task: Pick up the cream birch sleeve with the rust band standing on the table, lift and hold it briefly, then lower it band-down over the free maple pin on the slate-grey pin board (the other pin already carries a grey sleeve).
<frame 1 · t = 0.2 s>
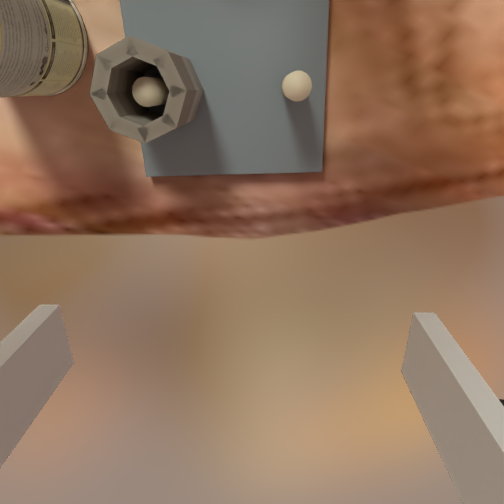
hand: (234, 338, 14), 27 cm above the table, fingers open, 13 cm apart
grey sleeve: (164, 91, 35), point 1 cm above the table, touching pin board
pin board: (229, 88, 36), on the table
coffee can: (35, 37, 35), on the table
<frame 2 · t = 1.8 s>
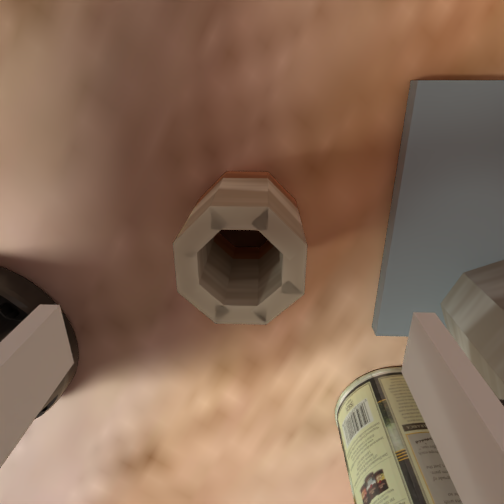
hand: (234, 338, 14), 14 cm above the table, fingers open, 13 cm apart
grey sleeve: (491, 304, 27), point 1 cm above the table, touching pin board
cream sleeve: (247, 219, 27), on the table
coffee can: (391, 408, 34), on the table
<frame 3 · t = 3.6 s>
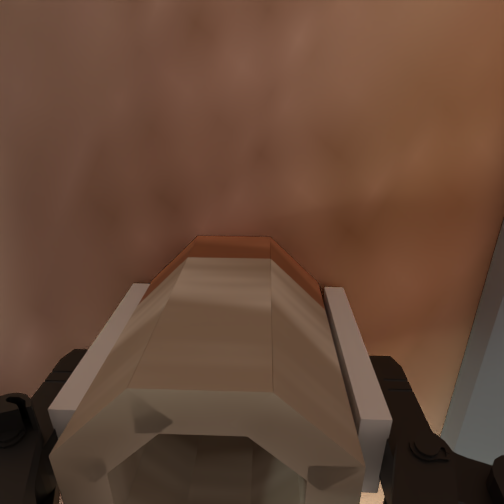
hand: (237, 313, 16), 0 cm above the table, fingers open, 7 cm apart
cream sleeve: (235, 310, 16), on the table, touching gripper
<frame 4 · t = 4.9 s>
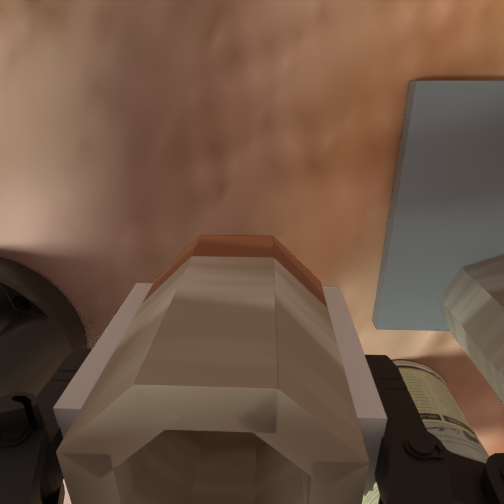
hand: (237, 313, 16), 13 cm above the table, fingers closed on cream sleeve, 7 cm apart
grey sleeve: (488, 298, 28), point 1 cm above the table, touching pin board
pin board: (501, 218, 27), on the table
cream sleeve: (238, 309, 16), point 13 cm above the table, touching gripper
coffee can: (391, 401, 35), on the table
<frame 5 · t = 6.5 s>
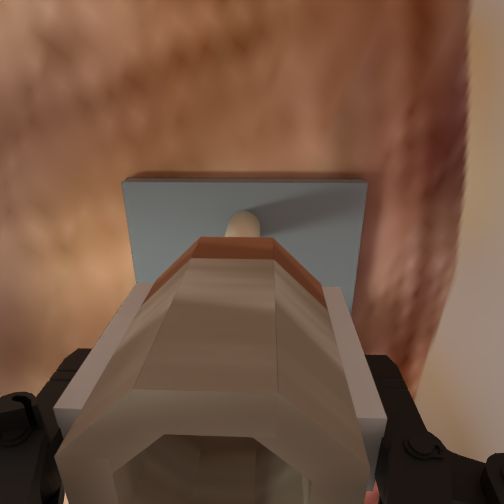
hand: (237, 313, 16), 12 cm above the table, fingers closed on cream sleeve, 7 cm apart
pin board: (245, 293, 29), on the table
cream sleeve: (238, 311, 16), point 12 cm above the table, touching gripper
when the fingers open (3 cm above the table, at t = 8.7 s): cream sleeve drops 1 cm, resting on pin board.
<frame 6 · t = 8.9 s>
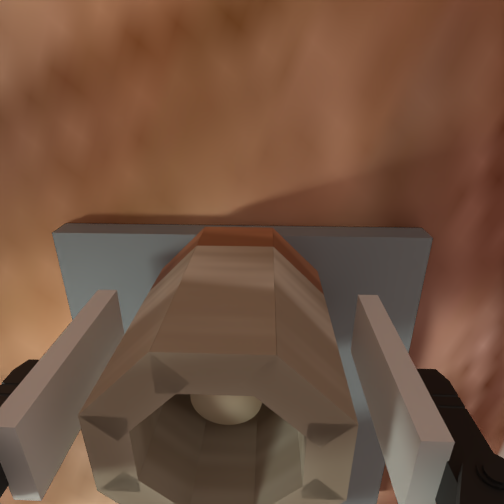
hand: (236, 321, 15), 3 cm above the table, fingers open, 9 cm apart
pin board: (242, 380, 20), on the table
cream sleeve: (239, 297, 17), point 1 cm above the table, touching pin board
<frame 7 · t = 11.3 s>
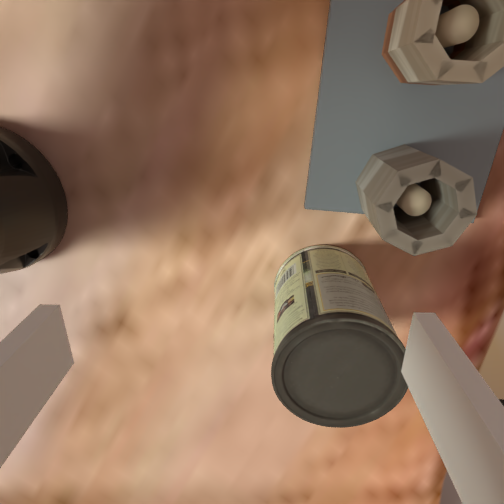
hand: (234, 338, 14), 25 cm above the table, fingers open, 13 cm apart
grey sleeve: (395, 185, 35), point 1 cm above the table, touching pin board
pin board: (406, 115, 33), on the table
cream sleeve: (428, 37, 30), point 1 cm above the table, touching pin board
coffee can: (321, 286, 41), on the table
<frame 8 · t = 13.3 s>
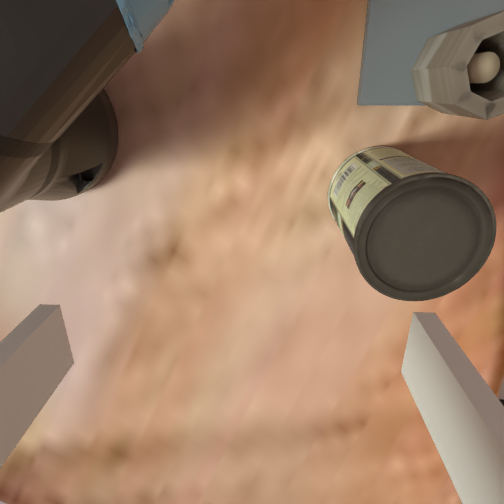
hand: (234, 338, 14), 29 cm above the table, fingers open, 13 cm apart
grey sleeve: (450, 70, 34), point 1 cm above the table, touching pin board
coffee can: (374, 192, 41), on the table
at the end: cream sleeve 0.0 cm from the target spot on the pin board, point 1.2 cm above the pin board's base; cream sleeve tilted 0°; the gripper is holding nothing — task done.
